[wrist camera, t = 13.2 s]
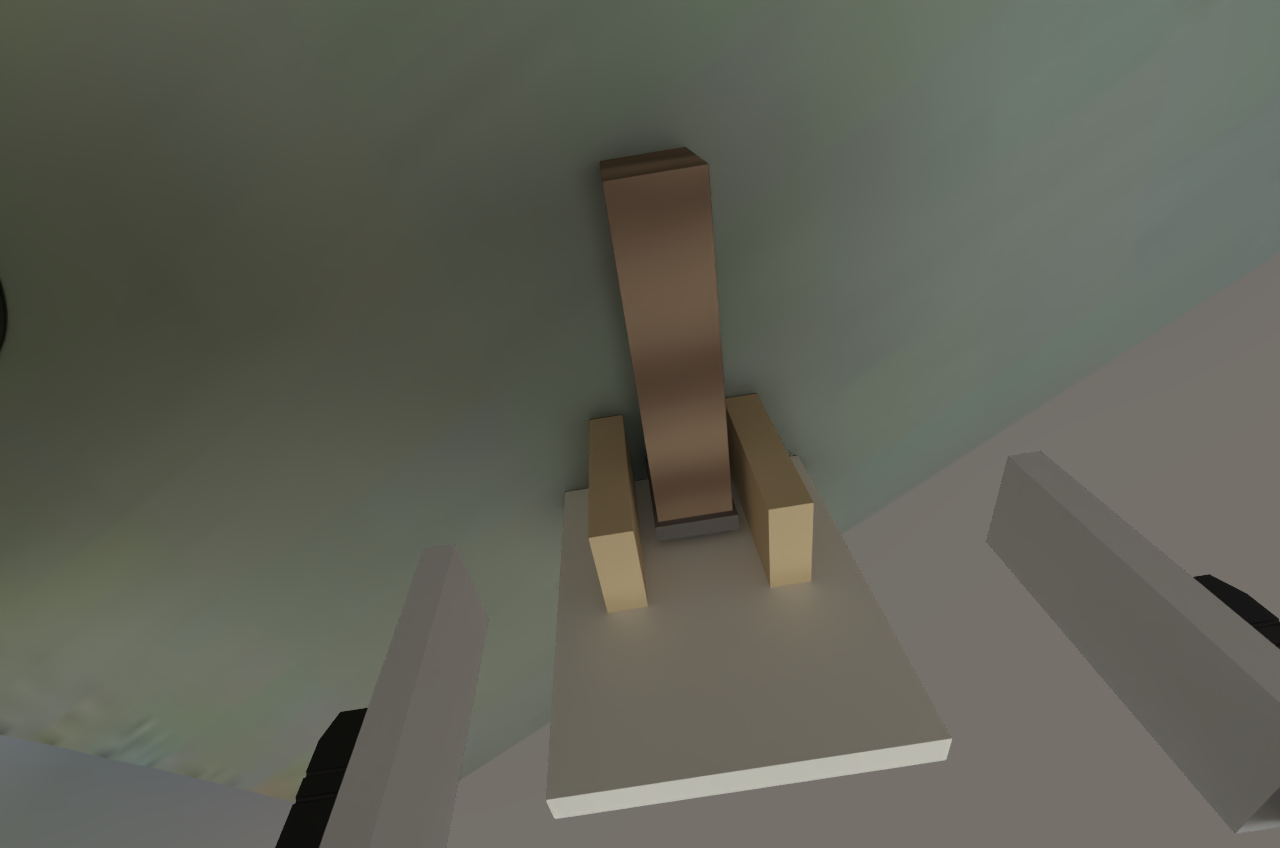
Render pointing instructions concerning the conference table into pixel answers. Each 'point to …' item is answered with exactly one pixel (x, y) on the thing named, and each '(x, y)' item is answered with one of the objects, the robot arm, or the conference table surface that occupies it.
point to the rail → (673, 334)
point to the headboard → (720, 641)
